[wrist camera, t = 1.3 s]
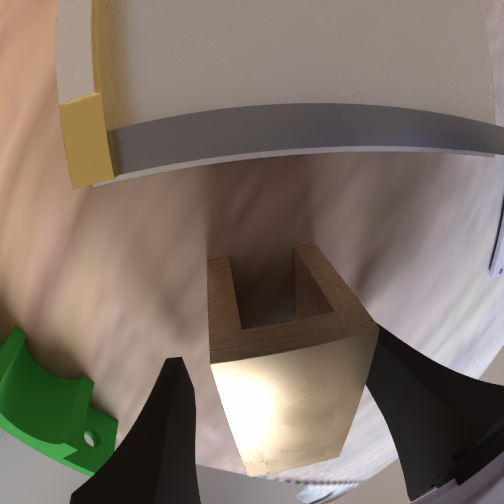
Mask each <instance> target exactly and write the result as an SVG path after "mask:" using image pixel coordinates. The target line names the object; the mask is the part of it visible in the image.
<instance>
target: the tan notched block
mask: <svg viewBox="0 0 504 504" xmlns="http://www.w3.org/2000/svg"><path fill="white" fill-rule="evenodd" d="M294 253H295V295H296V320H293V321H288V322H283V323H277V324H272V325H266V326H261V327H255V328H249V329H242V330H241V324H240V318H239V313H238V307H237V301H236V296H235V290H234V284H233V278H232V272H231V266H230V260H229V257H225V258H218V259H211V260H207V294H208V325H209V348H210V365H211V368H212V372H213V375H214V378H215V381H216V385H217V388H218V391H219V394H220V397H221V400H222V403H223V407H224V410H225V413H226V416H227V419H228V421H229V424H230V427H231V430H232V433H233V436H234V439H235V441H236V444H237V447H238V450H239V452H240V455H241V458H242V461H243V463H244V466H245V468H246V471H247V474H248V476H256V475H262V474H268V473H274V472H279V471H284V470H289V469H294V468H298V467H302V466H306V465H310V464H314V463H318V462H322V461H325V460H329V459H332V458H336V457H339V455H340V453H341V450H342V448H343V445H344V443H345V440H346V438H347V435H348V433H349V430H350V427H351V425H352V422H353V419H354V416H355V414H356V411H357V408H358V405H359V402H360V399H361V396H362V393H363V390H364V386H365V383H366V380H367V377H368V373H369V370H370V366H371V363H372V359H373V355H374V351H375V348H376V344H377V340H378V336H379V331H380V328H379V327H378V325H377V324H376V323H375V321H374V320H373V319H372V317H371V316H370V315H369V313H368V312H367V310H366V309H365V308H364V306H363V305H362V304H361V302H360V301H359V300H358V298H357V297H356V296H355V294H354V293H353V292H352V291H351V289H350V288H349V287H348V285H347V284H346V283H345V281H344V280H343V279H342V278H341V276H340V275H339V274H338V272H337V271H336V270H335V269H334V267H333V266H332V265H331V263H330V262H329V261H328V260H327V258H326V257H325V256H324V255H323V253H322V252H321V251H320V250H319V248H318V247H317V246H316V245H315V244H311V245H304V246H297V247H294Z"/></svg>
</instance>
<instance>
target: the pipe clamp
mask: <svg viewBox="0 0 504 504" xmlns="http://www.w3.org/2000/svg"><path fill="white" fill-rule="evenodd" d="M25 338H26V334H25V333H24V332H23V331H22V330H21V329H19V328H18V327H17V326H15V328H14V329H13V331H12V332H11V334H10V335H9V337H8V339H7V340H6V342H5V343H4V345H3V344H1V343H0V427H1V428H2V429H4V430H5V431H6V432H8V433H10V434H11V435H12V436H14V437H16V438H17V439H19V440H20V441H22V442H23V443H25V444H27V445H28V446H30V447H32V448H34V449H35V450H37V451H39V452H41V453H42V454H44V455H46V456H48V457H50V458H52V459H54V460H56V461H57V462H60V463H61V464H64V465H66V466H68V467H70V468H72V469H74V470H76V471H79V472H81V473H83V474H85V475H88V476H90V477H92V476H93V475H94V474H95V473H96V472H97V471H98V470H99V469H100V468H101V467H102V465H103V464H104V463H105V462H106V461H107V460H108V459H109V458H110V457H111V455H112V454H113V453H114V449H115V441H116V434H117V428H118V421H117V420H115V419H113V418H111V417H110V416H108V415H106V414H104V413H102V412H100V411H98V410H96V409H95V408H93V407H91V406H89V401H90V398H91V394H92V390H93V387H94V382H92V381H91V380H89V379H87V378H86V377H84V376H82V377H81V378H79V379H75V380H67V379H62V378H59V377H56V376H54V375H52V374H50V373H48V372H47V371H45V370H44V369H43V368H41V367H40V366H39V365H38V364H37V363H36V362H35V361H34V360H33V358H32V357H31V355H30V354H29V352H28V350H27V347H26V343H25ZM84 434H86V435H88V436H90V437H91V438H92V440H93V442H94V447H93V446H90V445H89V444H88V443H87V442H86V441H85V438H84Z"/></svg>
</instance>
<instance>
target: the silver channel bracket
mask: <svg viewBox="0 0 504 504" xmlns="http://www.w3.org/2000/svg"><path fill="white" fill-rule="evenodd" d="M56 76H57V91H58V102H59V109H60V118H61V126H62V133H63V139H64V145H65V151H66V157H67V162H68V167H69V172H70V177H71V181H72V186H73V189H76V188H80V187H84V186H87V185H91V184H92V185H93V187H97V186H101V185H105V184H109V183H113V182H118V181H122V180H127V179H131V178H136V177H141V176H145V175H150V174H156V173H161V172H166V171H172V170H177V169H183V168H189V167H195V166H202V165H208V164H215V163H222V162H230V161H238V160H246V159H255V158H264V157H275V156H286V155H299V154H314V153H332V152H364V151H404V152H434V153H451V154H464V155H476V156H486V157H494V154H500V155H504V127H500V126H497V125H495V102H494V87H493V77H492V68H491V61H490V54H489V48H488V43H487V37H486V32H485V28H484V23H483V19H482V15H481V11H480V8H479V4H478V1H477V0H58V3H57V17H56Z"/></svg>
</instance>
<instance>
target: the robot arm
mask: <svg viewBox="0 0 504 504" xmlns="http://www.w3.org/2000/svg"><path fill="white" fill-rule="evenodd" d="M489 274H490V277H492V278H493V279H495V278H498V277H500V276H502V275H504V212H503V218H502V223H501V228H500V233H499V237H498V242H497V246H496V250H495V254H494V258H493V261H492V265H491V268H490V272H489ZM375 323H376V322H375ZM376 324H377V323H376ZM377 325H378V327H379V328H380V331H379V336H378V340H377V344H376V348H375V351H374V355H373V359H372V363H371V366H370V370H369V373H368V377H367V380H366V383H365V384H366V386H367V388H368V389H369V391H370V393H371V395H372V397H373V398H374V400H375V402H376V404H377V405H378V407H379V409H380V411H381V413H382V414H383V416H384V418H385V421H386V423H387V425H388V428H389V430H390V433H391V435H392V438H393V441H394V444H395V447H396V450H397V453H398V456H399V459H400V463H401V466H402V470H403V474H404V478H405V483H406V488H407V493H408V497H409V499H410V501H414V500H416V499H418V498H420V497H421V496H423V495H425V494H427V493H429V492H430V491H432V490H434V489H436V488H437V489H436V490H435V491H433V492H432V493H430V494H428V495H426V496H424V497H423V498H421V499H419V500H417V501H415V502H413V503H411V504H504V386H502V385H496V384H491V383H488V382H484V381H480V380H477V379H474V378H471V377H468V376H466V375H463V374H460V373H458V372H456V371H453V370H451V369H449V368H447V367H445V366H443V365H441V364H439V363H437V362H435V361H433V360H431V359H430V358H428V357H426V356H425V355H423V354H421V353H420V352H418V351H417V350H415V349H413V348H412V347H410V346H409V345H407V344H406V343H404V342H403V341H402V340H400V339H399V338H397V337H396V336H394V335H393V334H392V333H390V332H389V331H387V330H386V329H385V328H383V327H382V326H380V325H379V324H377ZM195 433H196V404H195V393H194V387H193V384H192V382H191V379H190V377H189V374H188V372H187V369H186V366H185V364H184V361H183V359H182V357H176V358H167V359H166V360H165V362H164V364H163V367H162V369H161V372H160V374H159V376H158V379H157V381H156V383H155V385H154V387H153V389H152V391H151V393H150V395H149V397H148V400H147V402H146V403H145V405H144V407H143V409H142V411H141V413H140V414H139V416H138V418H137V420H136V421H135V423H134V425H133V426H132V428H131V429H130V431H129V432H128V434H127V435H126V437H125V438H124V440H123V441H122V443H121V444H120V445H119V447H118V448H117V449H116V450H115V452H114V453H113V454H112V455H111V457H110V458H109V459H108V460H107V461H106V462H105V463H104V464H103V465H102V467H101V468H100V469H99V470H98V471H97V472H96V473H95V474H94V475H93V476H92V477H91V478H90V479H89V480H88V481H86V482H85V483H84V484H83V485H82V486H80V487H79V488H78V489H77V490H76V491H74V492H73V493H72V495H71V499H70V504H201V503H200V496H199V489H198V483H197V475H196V465H195Z"/></svg>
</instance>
